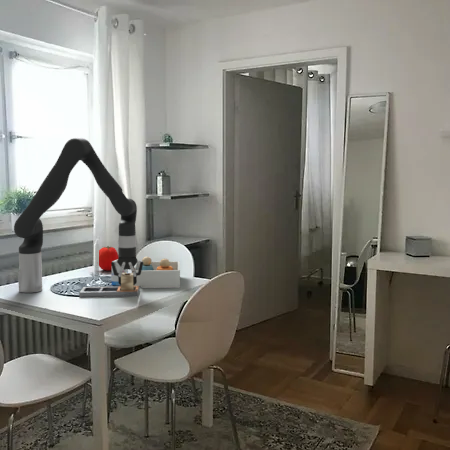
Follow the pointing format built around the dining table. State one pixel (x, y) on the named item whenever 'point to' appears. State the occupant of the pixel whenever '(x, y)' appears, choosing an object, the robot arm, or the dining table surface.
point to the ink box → (115, 278)
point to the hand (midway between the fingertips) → (127, 284)
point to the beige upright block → (127, 281)
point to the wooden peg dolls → (163, 266)
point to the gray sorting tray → (108, 292)
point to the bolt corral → (159, 276)
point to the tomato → (107, 257)
